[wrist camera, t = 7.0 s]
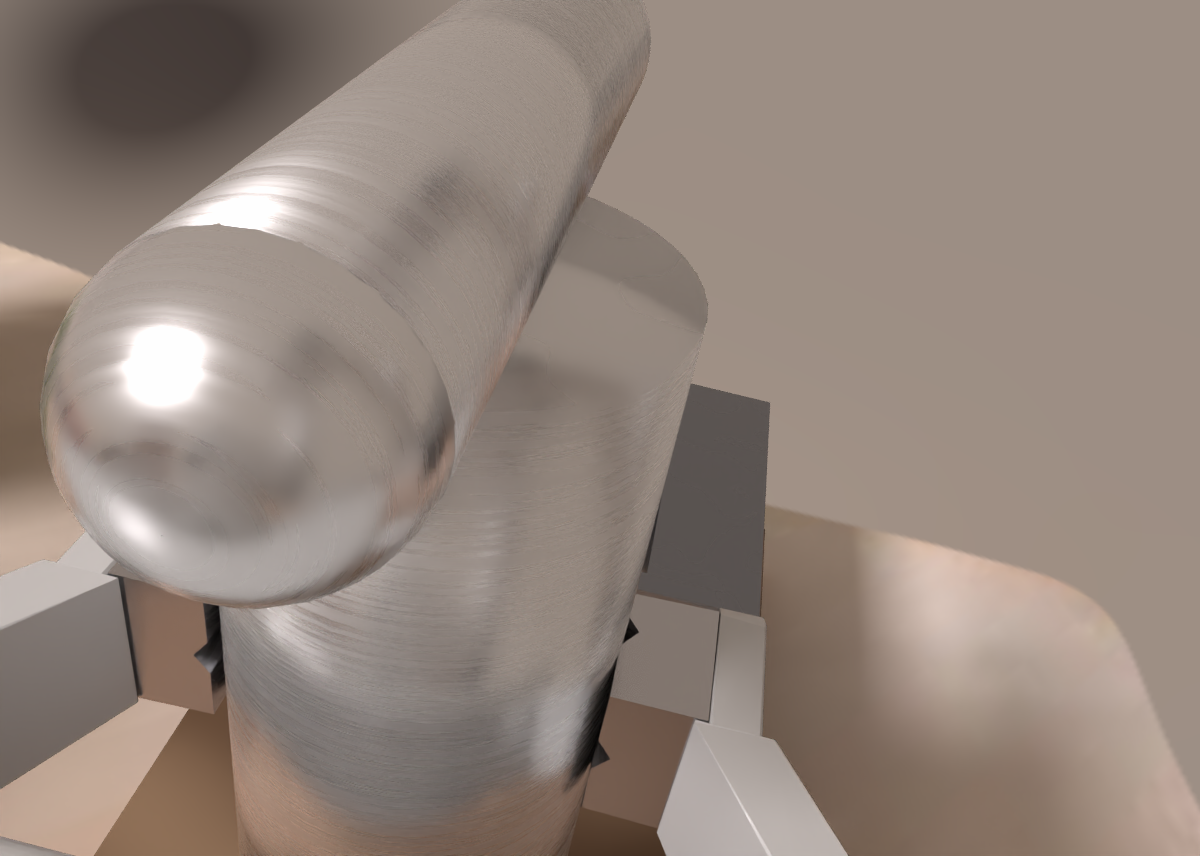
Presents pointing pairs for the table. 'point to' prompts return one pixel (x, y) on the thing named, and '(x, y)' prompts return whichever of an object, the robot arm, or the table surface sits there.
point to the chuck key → (400, 433)
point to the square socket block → (713, 505)
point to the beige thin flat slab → (208, 810)
